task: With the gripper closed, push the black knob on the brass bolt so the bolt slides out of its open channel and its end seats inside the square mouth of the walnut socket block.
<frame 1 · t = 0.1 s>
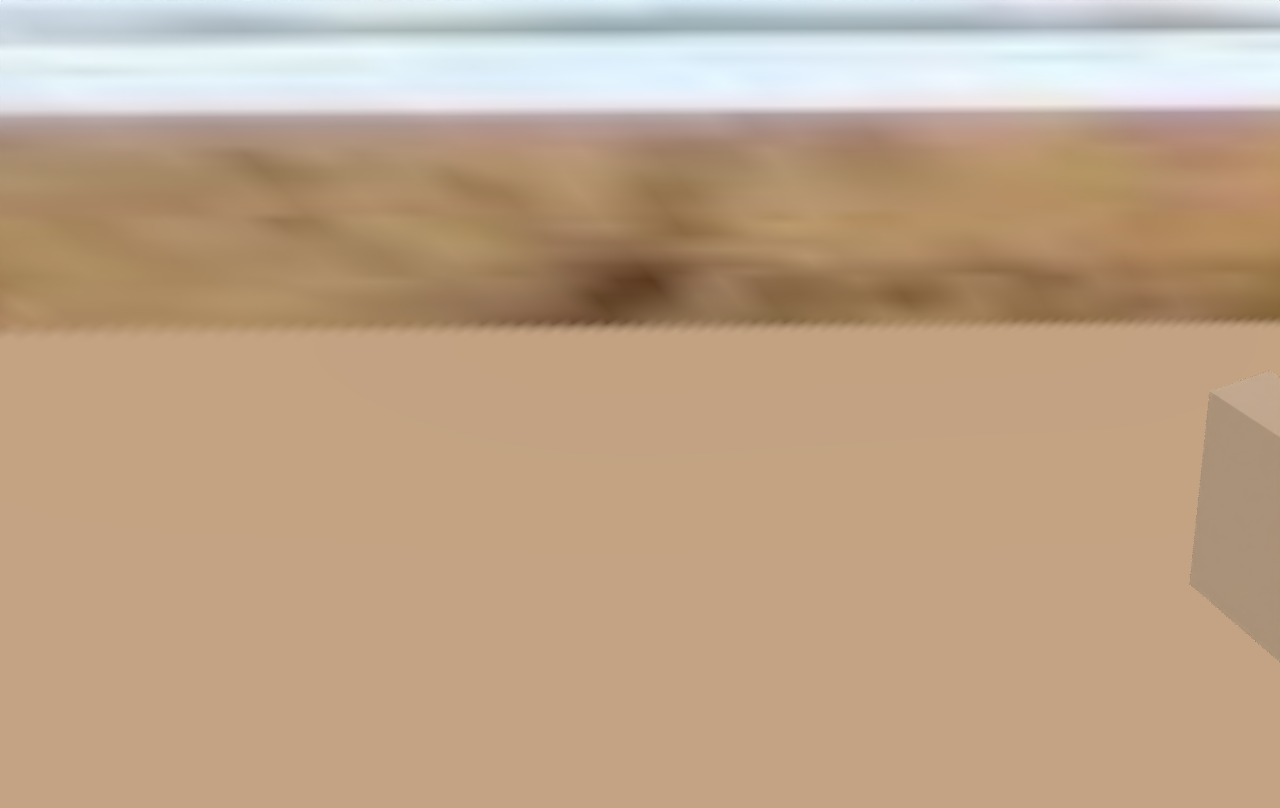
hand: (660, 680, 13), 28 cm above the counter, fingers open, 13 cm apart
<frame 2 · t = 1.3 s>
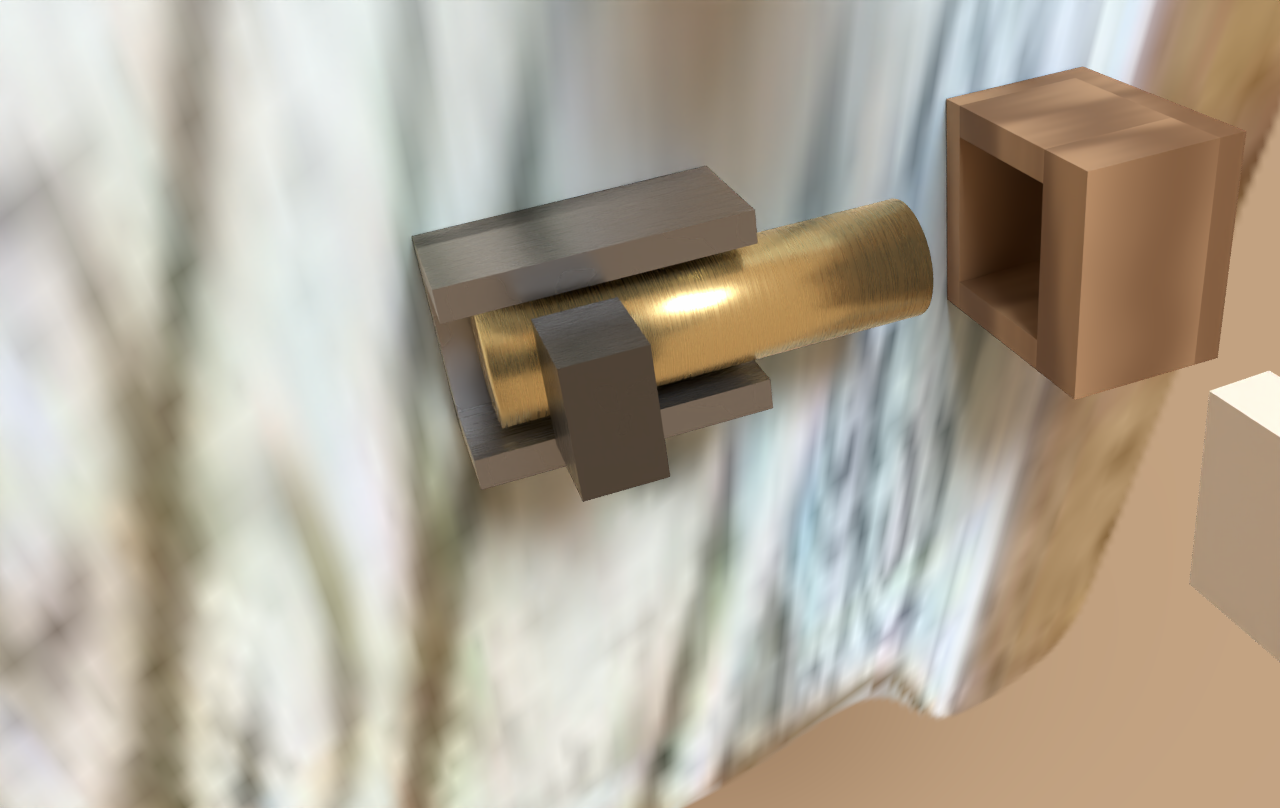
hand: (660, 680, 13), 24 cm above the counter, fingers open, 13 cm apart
socket: (1002, 189, 40), on the counter
brass bolt: (719, 331, 34), point 4 cm above the counter, slide at 0.0 cm
open channel: (579, 297, 38), on the counter
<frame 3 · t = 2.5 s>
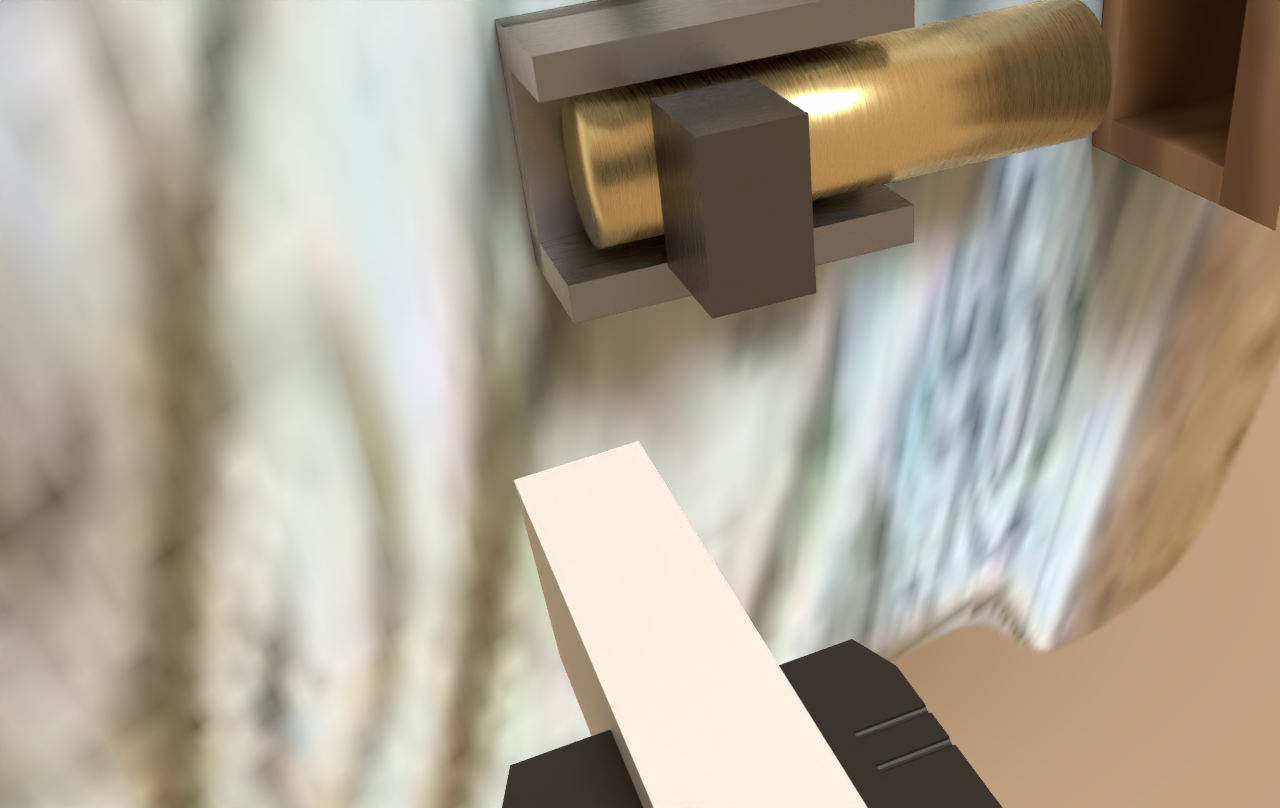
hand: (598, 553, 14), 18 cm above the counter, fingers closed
socket: (1163, 12, 35), on the counter
brass bolt: (863, 136, 29), point 4 cm above the counter, slide at 0.0 cm
open channel: (683, 112, 32), on the counter
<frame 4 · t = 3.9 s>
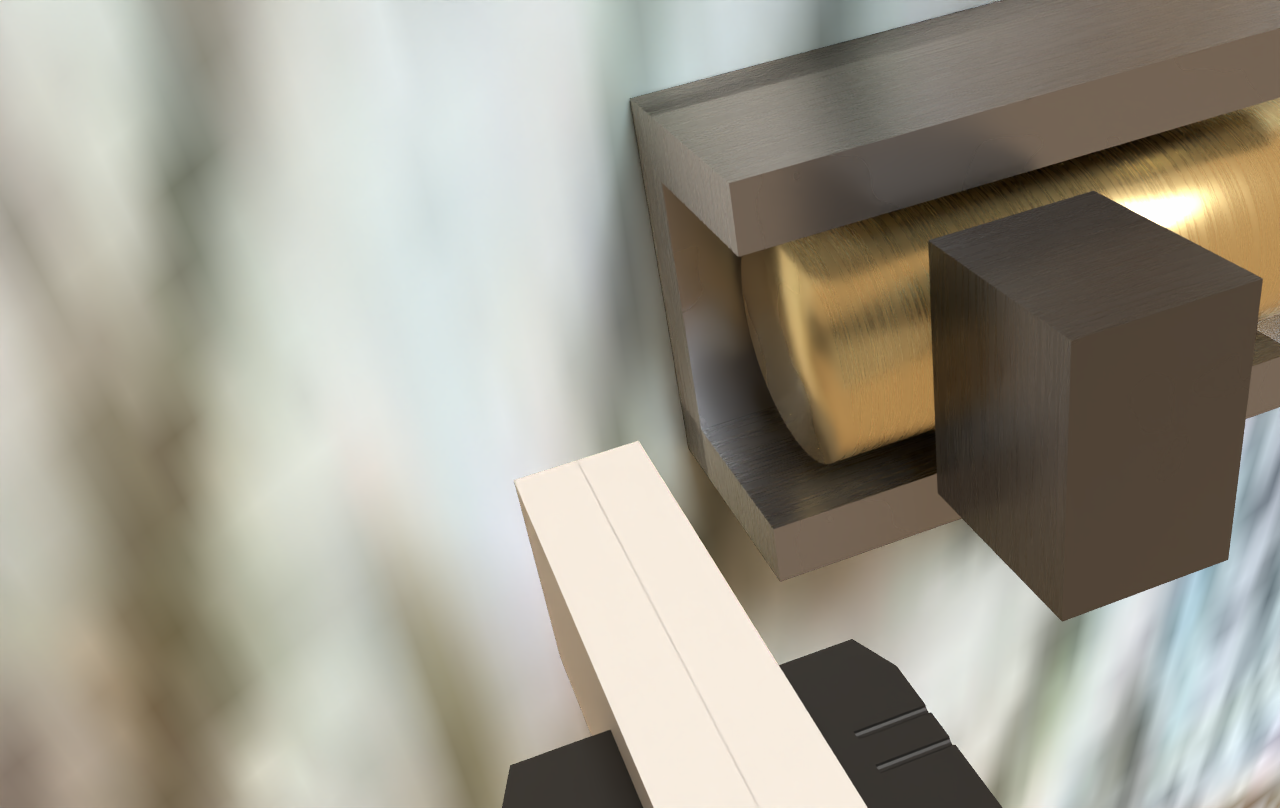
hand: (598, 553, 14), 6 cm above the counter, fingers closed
brass bolt: (1244, 261, 18), point 4 cm above the counter, slide at 0.0 cm
open channel: (910, 215, 21), on the counter
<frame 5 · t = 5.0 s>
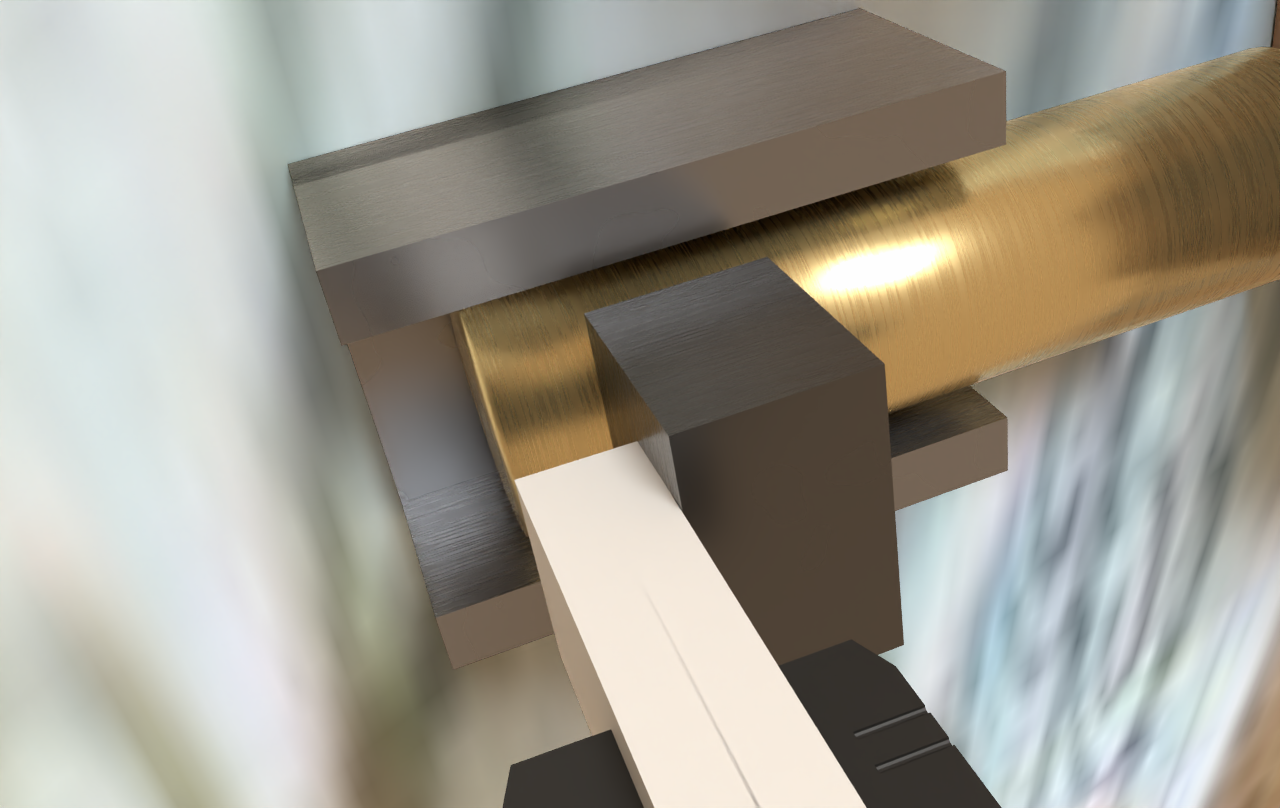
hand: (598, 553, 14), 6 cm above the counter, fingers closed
brass bolt: (959, 320, 17), point 4 cm above the counter, slide at 0.5 cm, touching gripper
open channel: (624, 273, 20), on the counter
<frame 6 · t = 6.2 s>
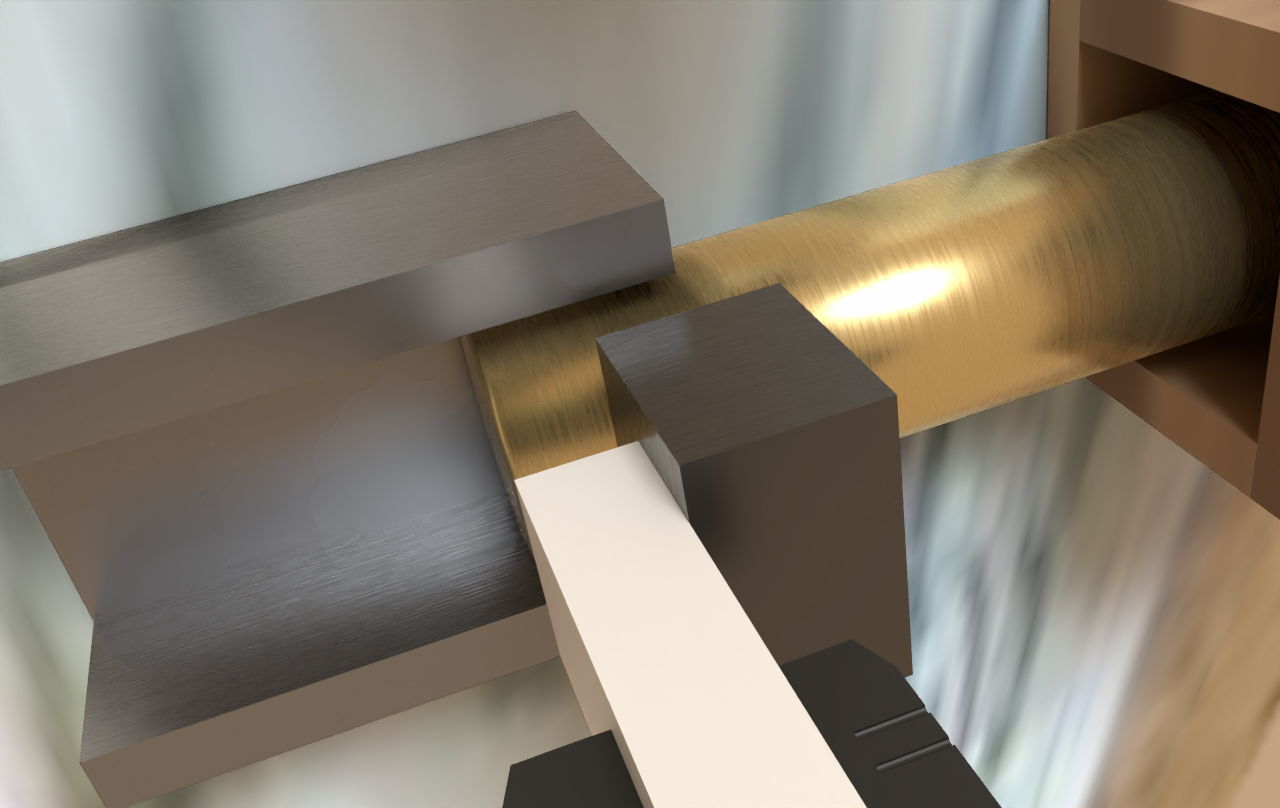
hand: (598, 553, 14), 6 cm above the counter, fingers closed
socket: (1145, 143, 22), on the counter
brass bolt: (970, 347, 17), point 4 cm above the counter, slide at 5.4 cm, touching gripper
open channel: (338, 382, 19), on the counter
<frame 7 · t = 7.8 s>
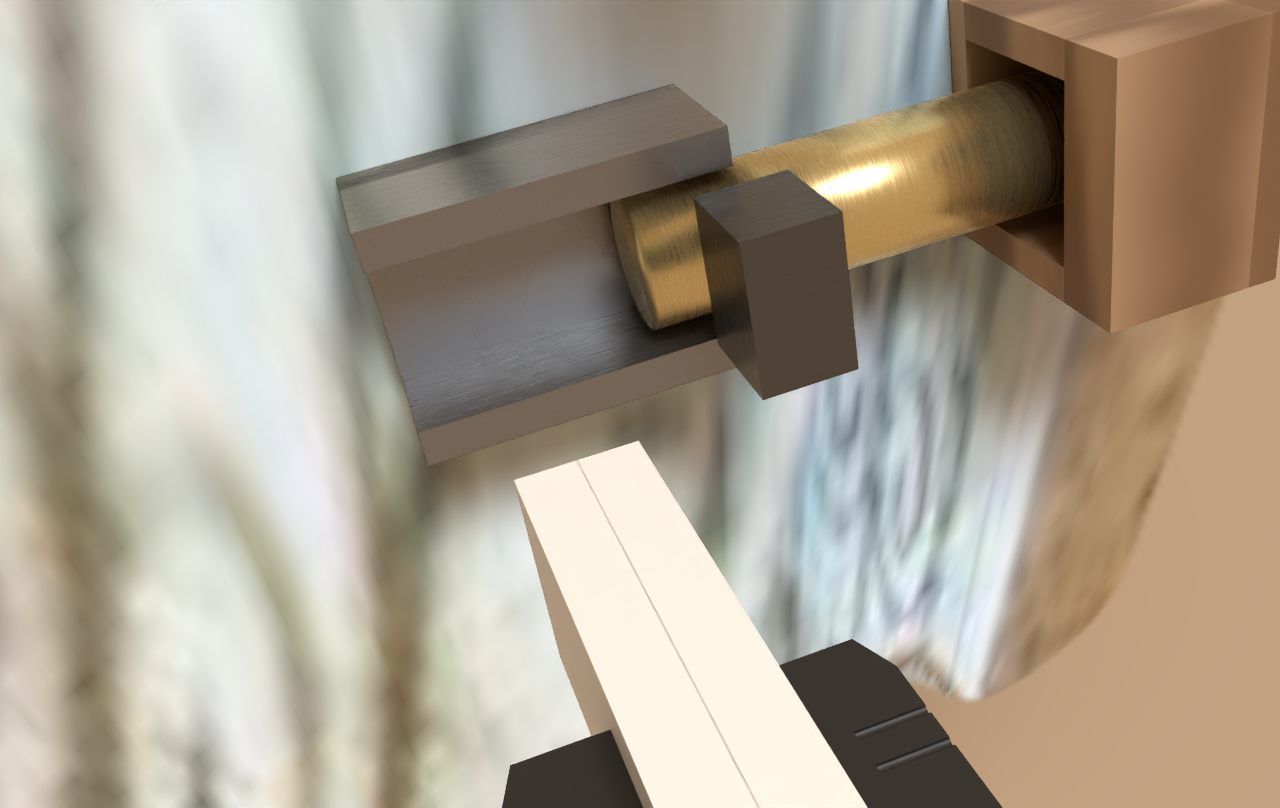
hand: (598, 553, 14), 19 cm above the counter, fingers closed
socket: (1016, 101, 35), on the counter
brass bolt: (895, 210, 31), point 4 cm above the counter, slide at 5.4 cm
open channel: (536, 243, 33), on the counter
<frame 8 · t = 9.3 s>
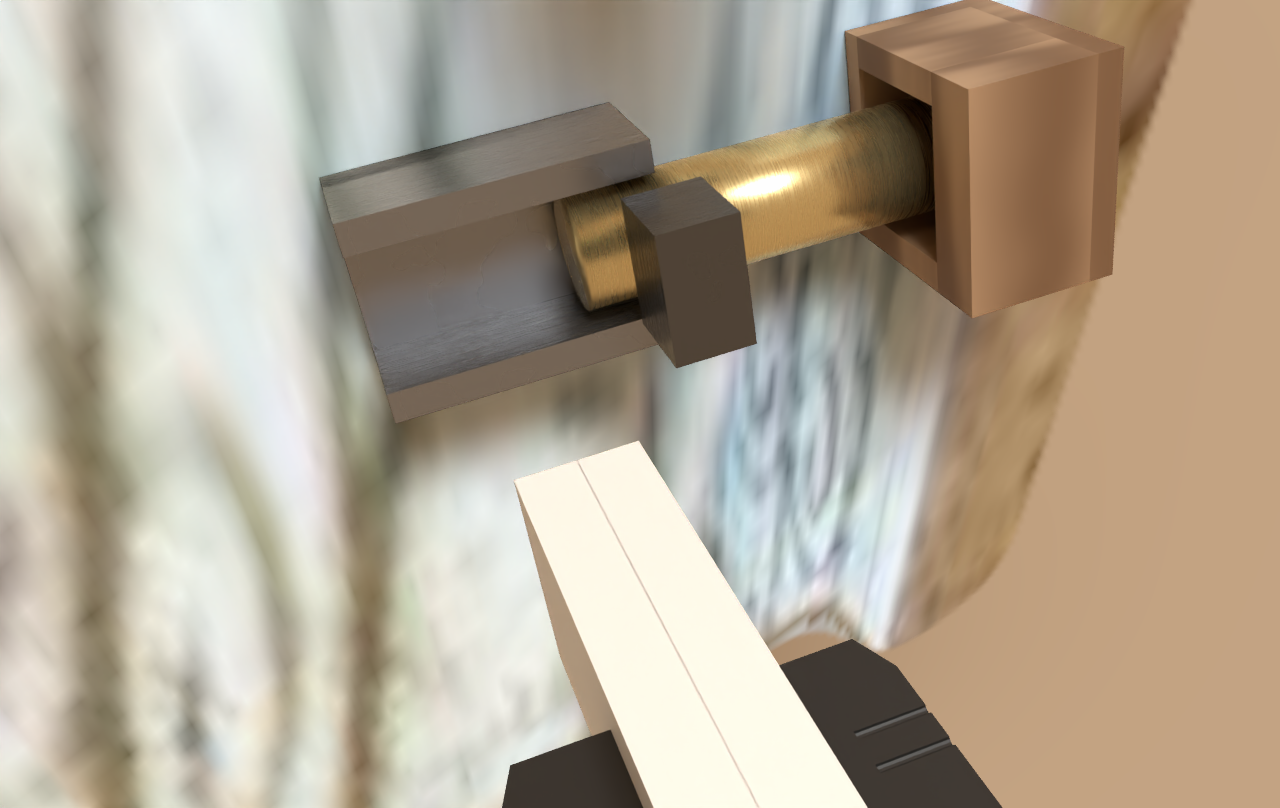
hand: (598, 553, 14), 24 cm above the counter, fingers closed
socket: (906, 121, 41), on the counter
brass bolt: (793, 211, 36), point 4 cm above the counter, slide at 5.4 cm
open channel: (490, 236, 38), on the counter
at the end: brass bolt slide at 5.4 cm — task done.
